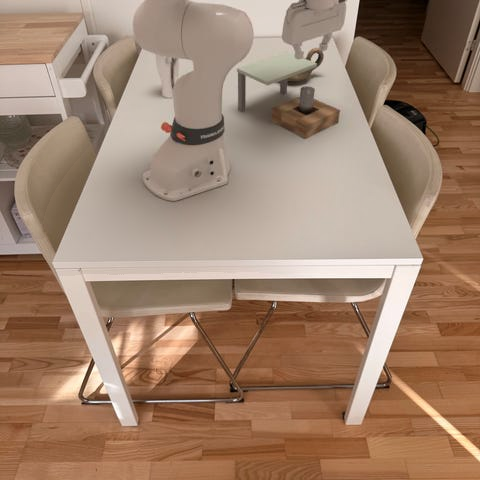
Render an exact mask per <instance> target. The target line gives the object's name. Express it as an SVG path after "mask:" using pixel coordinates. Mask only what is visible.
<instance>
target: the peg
mask: <svg viewBox="0 0 480 480" xmlns="http://www.w3.org/2000/svg"><path fill="white" fill-rule="evenodd" d="M315 89H316V88H314V87H313V86H307V85H306V86H302V87H300V92H299V97H300V100H299V111H298V112H300V113H302V114H304V115H309V114H311V113H312V109H313V101H314V99H315Z"/></svg>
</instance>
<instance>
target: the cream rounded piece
mask: <svg viewBox="0 0 480 480" xmlns="http://www.w3.org/2000/svg"><path fill="white" fill-rule="evenodd" d="M179 62H180V61H179V58H171V57H163V56H160V55H157V54H155V64H156V68H157V73H158V75H159V78H160V82H161V96H162V97H164V98H165V99H166V98H167V99H173V93H172V91H173V87H174V84H175V82H176V81H177V80H178V79H179V71H180V70H179V68H180V63H179Z"/></svg>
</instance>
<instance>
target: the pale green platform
mask: <svg viewBox="0 0 480 480" xmlns="http://www.w3.org/2000/svg"><path fill="white" fill-rule="evenodd" d="M304 58H305V57H303V58H302V59H299V60H298V59H296V58H295V54H293V53H290V52H288V51H283V52H281V53H277V54H274V55H272V56H269V57H265V58H262V59H260V60H257V61H255V62H251V63H248V64H245V65H242V66H239V67H237V68H236V72H237V110H238V111H240V112H241V113H242V112H244V111H246V107H247V106H246V96H247V94H246V92H247V91H246V90H247V89H246V85H247V83H246V78H247V77H248V78H249V79H252V80H254V81H257V82H259V83H261V84H263V85H265V86H270V85H273V84H276V83H278V82H280V83H279V94H280V95H283V96H284V95H286V94H288V92H287V91H288V82H289V81H288V78H289V77H291V76H294V75H297V74H299V73H302V72H304V71H307V70H310V69H312V68H315V67H317V63H315V61H314V62H313V61H312V60H311V61H309V60H306V59H304ZM317 68H318V67H317Z"/></svg>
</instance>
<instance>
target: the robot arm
mask: <svg viewBox="0 0 480 480" xmlns="http://www.w3.org/2000/svg"><path fill="white" fill-rule="evenodd" d="M346 2H348V0H298V1H297V2H293V3H291V4H290V6H289V7H288V8H287V9H286V11H285V16H284V19H283V25H282V32H281V40H282V41H283V43H284V44H286V45H290V46H292V48H293V49H294V55H295V58H296V59H298V60H299V59H302V58H305V57H304V55H305V54H304V53H305V51H303V50H302V46H303V43H305V42H307V41H310V40H314V39H318V38H320V37H322V36H323V38H322V39H321V42H320V43H319V45H318V46H319V47H318V48H319V50H320V51H322V52H324V51H327V50H328V47H329V44H330V41H331V39H332V37H333V33H335V32H339V31H341V30H342V28H344V25H345V19H346V13H347V3H346ZM132 20H133V21H132V32H133V35H134V39H135V41H136V42H137V45H139V47H140V48H141V49H142V50H144V51H147V52H149V53H152V54H154V55H156V54H157V55H160V56H163V57H171V58H178V60H179V59H180V60H187V61H191V62H192V65H193V70H191V71H189V72H187V73H185V74H183V75H181V76H180V77H178V80H177V81H176V82H175V84H174V87H173V91H172V93H173V98H172V100H173V110H174V117H173V121H172V124H169V123H168V122H166V121H164V122H162V123H161V125H160V126H161V127H160V129H161V130H162V131H163V132H165V133H167V134H168V133H170V134H169V136H168V137H166V139H165V140H164V142H163V143H162V144H161V145H160V146H159V148H158V149H157V150H156V151H155V152H154V153H153V154H152V156H151V159H150V168H149V169H148V170H147V171H144V173H143V174H142V182H143V184H144V185H145V187H146V188H147V189H148V191H150V192H152V194H154V195H156V196H157V197H159V198H160V199H163V200H165V201H170V202H176V201H180V200H182V199H185V198H189V197H192V196H195V195H198V194H201V193H204V192H207V191H210V190H214V189H216V188H219V187H221V186H224V185H227V184H228V182H229V177H228V175H229V173H230V171H231V164H230V162H229V158H228V155H227V150H226V146H225V138H224V133H225V117H224V115H223V101H222V100H223V90H224V89H223V88H224V83H225V81H226V78H227V76H228V74H229V73H230V71H231V70H232V69H233V68H234V67H235V66H236V65H237V64H239V63H241V62H242V61H243V60H244V59H245V58H247V56H248V54H250V51H251V49H252V47H253V43H254V37H255V36H254V35H255V34H254V27H253V23H252V20H251V18H250V17H249V16H248V14H247V12H246V11H243V10H240V9H238V8H235V7H231V6H228V5H225V4H219V3H217V4H216V3H209V2H208V3H207V2H196V1H192V0H143V2H142V3H140V4H139V6H138V7H137V8H136V11H135V13H134V15H133V19H132Z"/></svg>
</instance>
